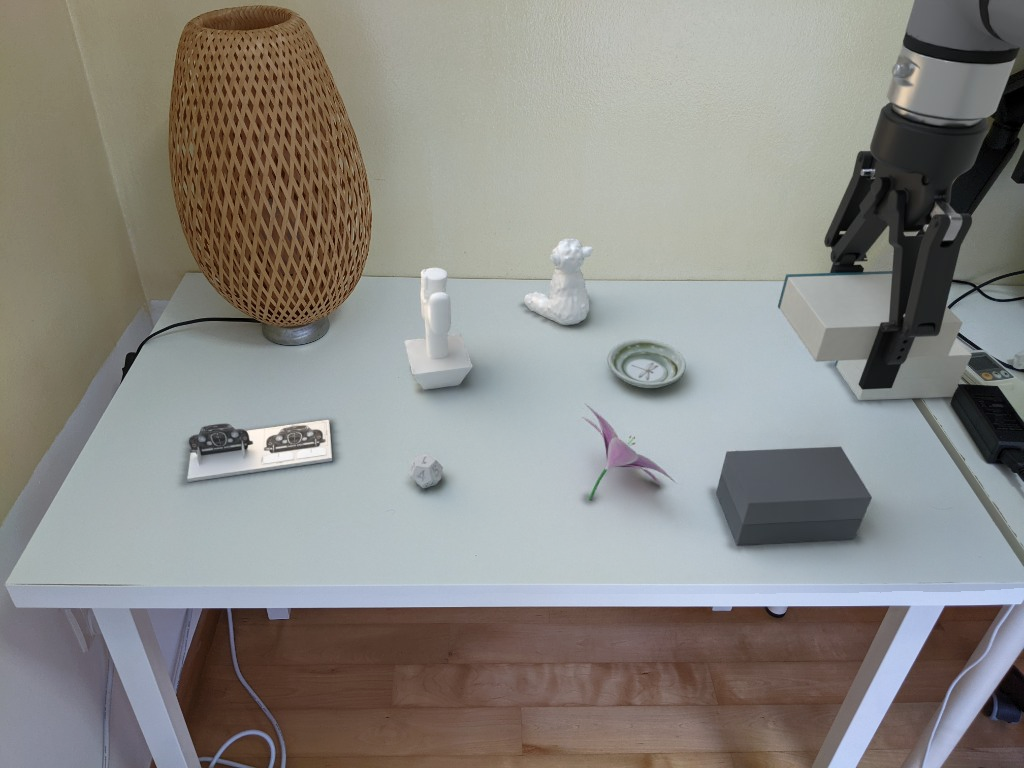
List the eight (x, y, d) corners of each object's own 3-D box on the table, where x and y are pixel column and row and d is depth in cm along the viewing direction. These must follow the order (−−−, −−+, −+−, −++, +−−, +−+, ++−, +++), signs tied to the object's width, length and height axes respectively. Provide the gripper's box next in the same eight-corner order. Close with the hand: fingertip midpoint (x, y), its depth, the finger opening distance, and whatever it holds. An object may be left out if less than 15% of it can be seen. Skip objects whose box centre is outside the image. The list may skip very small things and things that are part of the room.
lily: (671, 539, 78) (709, 454, 76) (567, 515, 74) (604, 425, 72) (627, 486, 89) (659, 411, 87) (534, 463, 85) (566, 384, 83)
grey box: (825, 487, 83) (841, 446, 79) (854, 539, 77) (872, 497, 73) (715, 492, 82) (726, 451, 78) (736, 545, 76) (749, 503, 72)
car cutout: (188, 481, 82) (177, 450, 79) (193, 440, 87) (183, 410, 84) (332, 461, 85) (327, 429, 82) (329, 422, 90) (324, 391, 87)
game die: (446, 471, 84) (445, 451, 82) (437, 495, 81) (436, 475, 79) (415, 466, 84) (413, 446, 82) (405, 491, 81) (403, 470, 79)
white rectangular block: (923, 362, 101) (940, 321, 97) (952, 397, 95) (972, 354, 92) (834, 365, 100) (848, 323, 96) (858, 400, 95) (874, 358, 91)
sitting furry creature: (582, 292, 114) (588, 217, 106) (609, 323, 107) (617, 245, 100) (522, 304, 111) (524, 228, 104) (546, 336, 105) (550, 257, 97)
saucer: (616, 347, 103) (618, 331, 101) (689, 362, 100) (692, 347, 99) (597, 388, 96) (598, 373, 94) (674, 406, 93) (677, 391, 92)
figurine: (460, 352, 101) (457, 249, 92) (474, 395, 94) (473, 289, 85) (404, 359, 100) (396, 255, 91) (415, 404, 93) (407, 296, 83)
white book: (898, 302, 74) (910, 270, 72) (948, 356, 67) (963, 322, 65) (777, 306, 73) (785, 274, 71) (815, 362, 66) (825, 327, 64)
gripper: (828, 68, 66) (770, 294, 80) (969, 167, 49) (864, 433, 63) (912, 67, 67) (840, 292, 81) (1079, 165, 50) (952, 429, 64)
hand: (851, 354), depth 72 cm, fingers closed on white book, 9 cm apart
